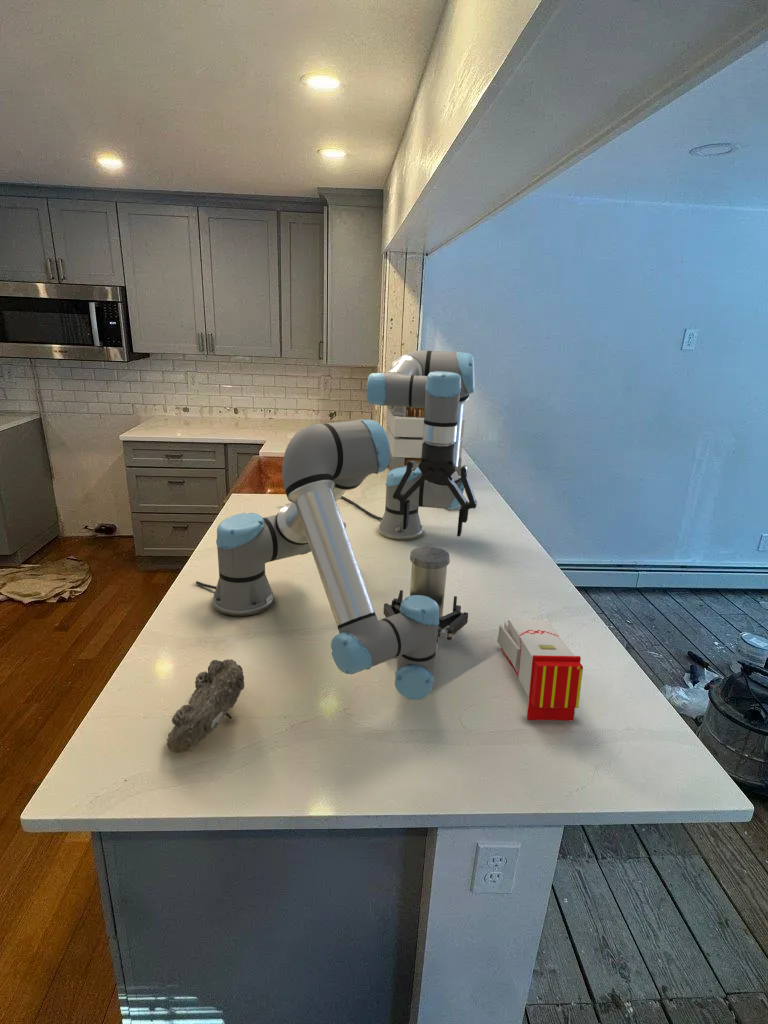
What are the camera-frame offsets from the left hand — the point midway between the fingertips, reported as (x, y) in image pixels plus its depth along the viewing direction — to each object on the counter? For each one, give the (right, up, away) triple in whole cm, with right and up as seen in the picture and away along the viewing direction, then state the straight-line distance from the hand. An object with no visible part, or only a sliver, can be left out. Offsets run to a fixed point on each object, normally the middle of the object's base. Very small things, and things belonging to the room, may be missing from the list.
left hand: (428, 597), depth 143 cm
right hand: (0, +17, -8) cm, 19 cm away
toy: (+21, -15, -19) cm, 32 cm away
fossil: (-44, -17, -35) cm, 59 cm away
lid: (0, +11, -6) cm, 13 cm away
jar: (-1, -6, +1) cm, 7 cm away
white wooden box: (+6, +41, +132) cm, 138 cm away
